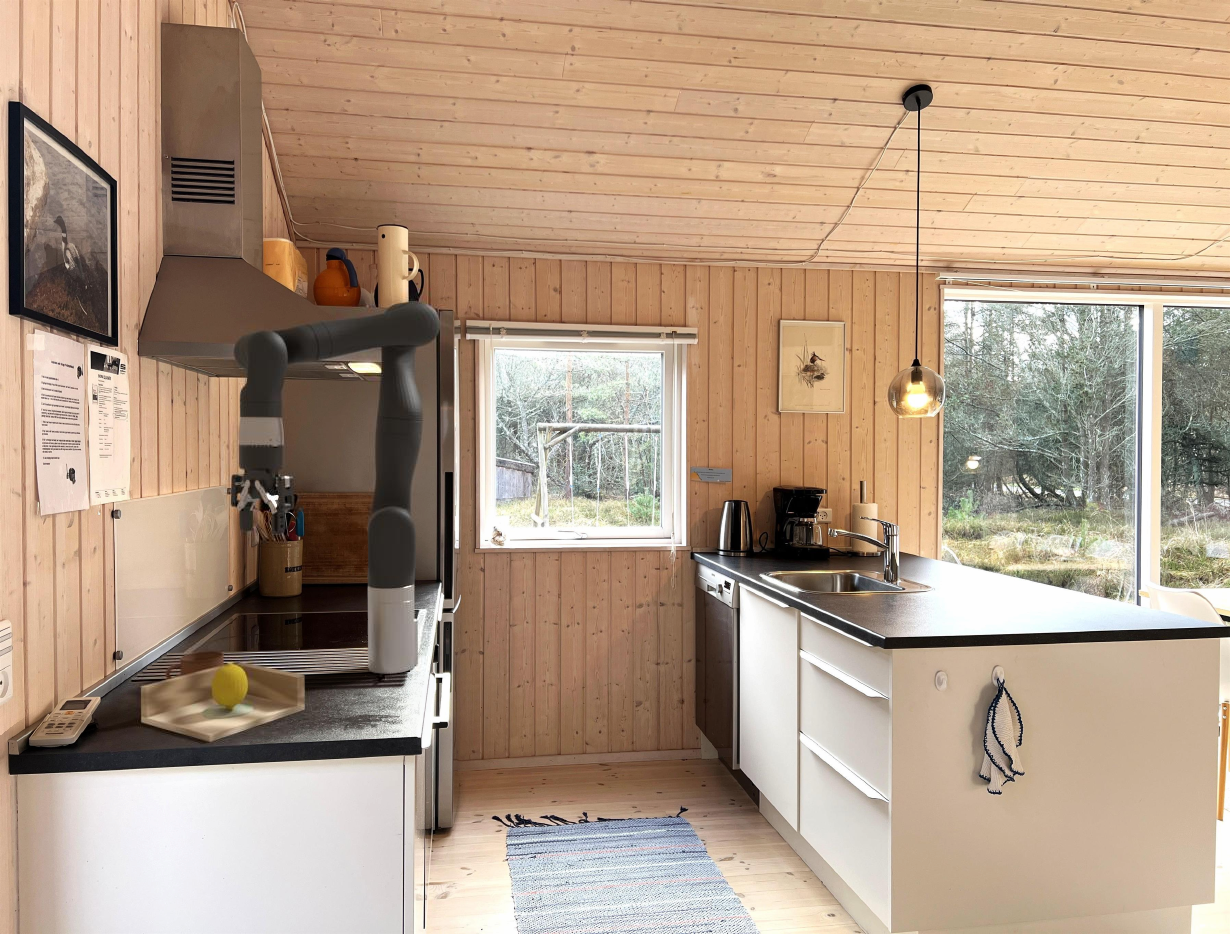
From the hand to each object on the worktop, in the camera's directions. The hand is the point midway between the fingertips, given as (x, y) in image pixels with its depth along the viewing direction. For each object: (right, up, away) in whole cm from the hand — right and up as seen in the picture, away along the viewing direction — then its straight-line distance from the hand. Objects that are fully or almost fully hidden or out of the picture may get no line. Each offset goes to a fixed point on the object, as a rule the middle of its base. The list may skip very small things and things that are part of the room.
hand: (262, 532), depth 151 cm
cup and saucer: (-14, -30, +7) cm, 34 cm away
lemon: (-1, -29, -10) cm, 31 cm away
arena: (-2, -30, -9) cm, 32 cm away
